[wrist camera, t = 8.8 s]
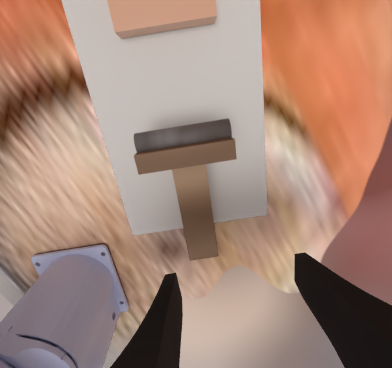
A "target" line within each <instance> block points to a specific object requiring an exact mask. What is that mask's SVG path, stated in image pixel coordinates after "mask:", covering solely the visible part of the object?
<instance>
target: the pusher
mask: <svg viewBox="0 0 392 368" xmlns="http://www.w3.org/2000/svg"><path fill="white" fill-rule="evenodd" d="M134 144H135V148H136V151H137V153H136V154H135V155H134V159H135V163H136V167H137V171H138V174H139V175H141V174H147V173H153V172H159V171H166V170H172V173H173V178H174V183H175V188H176V193H177V198H178V203H179V208H180V213H181V218H182V223H183V228H184V233H185V238H186V243H187V248H188V253H189V258H190V260H197V259H203V258H210V257H216V256H218V248H217V241H216V234H215V227H214V220H213V212H212V205H211V198H210V191H209V184H208V176H207V169H206V164H210V163H216V162H222V161H229V160H235V159H237V157H236V145H235V139H234V138H232V130H231V124H230V120H229V119H228V118H227V119H221V120H215V121H209V122H203V123H196V124H190V125H184V126H178V127H171V128H165V129H159V130H153V131H146V132H140V133H135V134H134Z"/></svg>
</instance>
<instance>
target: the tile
mask: <svg viewBox="0 0 392 368" xmlns="http://www.w3.org/2000/svg"><path fill="white" fill-rule="evenodd" d="M107 2H108V6H109V10H110V14H111V19H112V23H113V27H114V31H115V33H116V34H117V35H118V36H119V37H120V38H121V39H122V38H128V37H134V36H140V35H146V34H152V33H158V32H165V31H171V30H177V29H183V28H189V27H195V26H201V25H207V24H214V23H215V20H216V17H217V10H216V0H107Z"/></svg>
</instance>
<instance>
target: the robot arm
mask: <svg viewBox="0 0 392 368" xmlns="http://www.w3.org/2000/svg"><path fill="white" fill-rule="evenodd" d="M102 252H104V253H105V254H103V253H102ZM31 261H32V263H33V265H34V267H35V269H36V271H37V273H38V275H39V276H40V277H39V278H38V279H37V280H36V281H35V283H34V284H33V285H32V286H31V287H30V288H29V290H28V291H27V292H26V293H25V294H24V295H23V297H22V298H21V299H20V300H19V301H18V302H17V304H16V305H15V306H14V307H13V308H12V310H11V311H10V312H9V313H8V314H7V315H6V317H5V318H4V319H3V320H2V321H1V322H0V368H102V367H103V364H104V361H105V358H106V355H107V352H108V349H109V345H110V342H111V339H112V336H113V333H114V330H115V326H116V323H117V320H118V317H119V314H120V312H125V311H127V310H128V308H129V305H128V303H127V300H126V297H125V294H124V291H123V289H122V286H121V283H120V280H119V278H118V275H117V272H116V269H115V267H114V264H113V261H112V258H111V255H110V253H109V250H108V247H107V246H106V245H104V244H100V245H94V246H88V247H81V248H75V249H68V250H62V251H56V252H49V253H43V254H36V255H34V256H33V257H32V258H31ZM39 263H40V264H39ZM295 283H296V285H297V287H298V289H299V291H300V293H301V295H302V297H303V299H304V300H305V302H306V303H307V305H308V306H309V308H310V310H311V311H312V313H313V314H314V316H315V317H316V319H317V321H318V322H319V324H320V325H321V327H322V329H323V330H324V332H325V333H326V335H327V336H328V338H329V340H330V341H331V343H332V345H333V346H334V348H335V350H336V352H337V354H338V356H339V358H340V360H341V362H342V363H343V365H344V367H345V368H392V305H389V304H387V303H385V302H383V301H382V300H380V299H378V298H376V297H374V296H372V295H370V294H368V293H367V292H365V291H363V290H361V289H360V288H358V287H356V286H355V285H353V284H351V283H350V282H348V281H346V280H345V279H343V278H342V277H340V276H339V275H337V274H336V273H334V272H332V271H331V270H330V269H328V268H327V267H325V266H324V265H322V264H321V263H319V262H318V261H317V260H315V259H314V258H312V257H311V256H309V255H308V254H306V253H299V254H295ZM181 331H182V296H181V292H180V288H179V284H178V280H177V276H176V273H172V274H166V275H165V276H164V279H163V281H162V284H161V286H160V288H159V291H158V293H157V295H156V297H155V299H154V301H153V303H152V305H151V307H150V309H149V311H148V313H147V314H146V316H145V318H144V320H143V321H142V323H141V325H140V326H139V328H138V330H137V331H136V333H135V334H134V336H133V337H132V339H131V340H130V342H129V343H128V345H127V346H126V347H125V349H124V350H123V352H122V353H121V354H120V356H119V357H118V358H117V360H116V361H115V362H114V363H113V365H112V366H111V367H110V368H179V358H180V345H181V344H180V343H181Z"/></svg>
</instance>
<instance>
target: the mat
mask: <svg viewBox="0 0 392 368" xmlns="http://www.w3.org/2000/svg"><path fill="white" fill-rule="evenodd" d="M61 1H62V4H63V7H64V11H65V14H66V17H67V20H68V24H69V27H70V30H71V34H72V37H73V40H74V44H75V47H76V50H77V53H78V57H79V60H80V63H81V67H82V70H83V73H84V76H85V80H86V83H87V86H88V90H89V93H90V96H91V100H92V103H93V106H94V109H95V113H96V116H97V119H98V123H99V126H100V129H101V133H102V136H103V139H104V142H105V146H106V149H107V152H108V156H109V159H110V162H111V166H112V169H113V172H114V175H115V179H116V182H117V185H118V189H119V192H120V195H121V198H122V202H123V205H124V208H125V212H126V215H127V218H128V222H129V225H130V228H131V231H132V235H133V236H136V235H143V234H149V233H155V232H162V231H168V230H175V229H181V228H183V223H182V218H181V213H180V208H179V203H178V198H177V193H176V188H175V183H174V178H173V173H172V170H166V171H159V172H153V173H147V174H141V175H139V174H138V171H137V167H136V163H135V159H134V155H135V154H136V153H137V151H136V148H135V144H134V134H135V133H140V132H146V131H153V130H159V129H165V128H171V127H178V126H184V125H190V124H196V123H203V122H209V121H215V120H221V119H227V118H228V119H229V120H230V124H231V130H232V138H234V139H235V145H236V157H237V159H235V160H229V161H222V162H216V163H210V164H206V169H207V176H208V184H209V191H210V198H211V205H212V212H213V220H214V223H219V222H226V221H232V220H239V219H245V218H251V217H258V216H264V215H267V187H266V159H265V130H264V102H263V74H262V45H261V17H260V0H216V10H217V17H216V20H215V23H214V24H207V25H201V26H195V27H189V28H183V29H177V30H171V31H165V32H158V33H152V34H146V35H140V36H134V37H128V38H122V39H121V38H120V37H119V36H118V35H117V34H116V33H115V31H114V27H113V23H112V19H111V14H110V10H109V6H108V2H107V0H61Z"/></svg>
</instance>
